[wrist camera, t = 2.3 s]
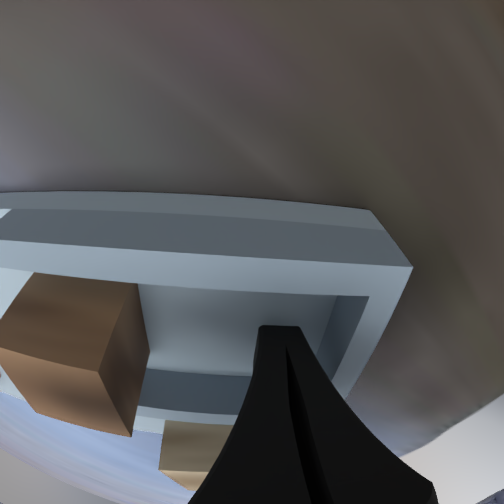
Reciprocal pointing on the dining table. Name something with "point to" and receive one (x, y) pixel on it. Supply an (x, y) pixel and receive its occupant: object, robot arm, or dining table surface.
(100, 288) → the walnut block
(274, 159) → the dining table surface
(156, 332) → the slate board with cubby
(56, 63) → the dining table surface
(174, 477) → the beech block
